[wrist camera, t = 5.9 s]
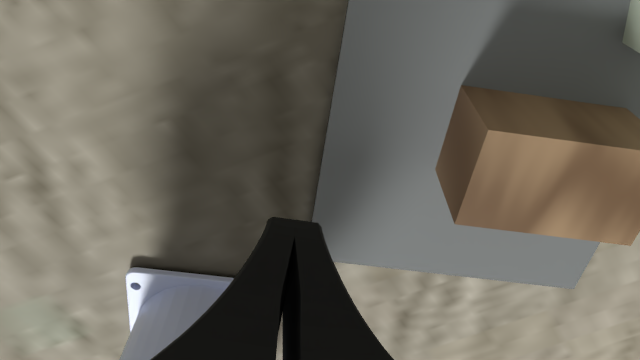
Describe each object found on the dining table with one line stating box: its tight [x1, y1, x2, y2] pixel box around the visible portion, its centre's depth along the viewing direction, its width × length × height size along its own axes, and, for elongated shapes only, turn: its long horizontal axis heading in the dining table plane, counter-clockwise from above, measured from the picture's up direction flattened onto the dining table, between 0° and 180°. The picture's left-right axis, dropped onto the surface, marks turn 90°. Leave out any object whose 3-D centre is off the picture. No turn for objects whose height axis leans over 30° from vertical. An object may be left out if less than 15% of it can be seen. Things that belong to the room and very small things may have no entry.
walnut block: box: [435, 85, 640, 246], centre depth 20 cm, size 4×4×7 cm
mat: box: [312, 0, 640, 289], centre depth 22 cm, size 16×14×1 cm
